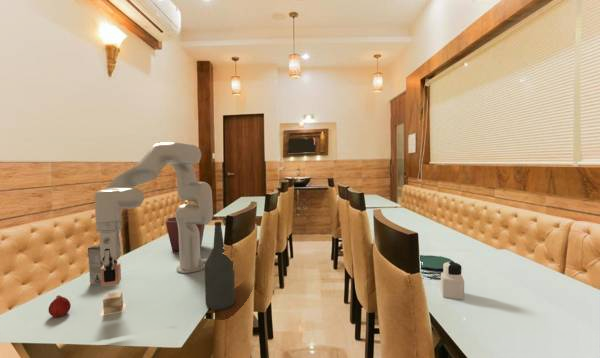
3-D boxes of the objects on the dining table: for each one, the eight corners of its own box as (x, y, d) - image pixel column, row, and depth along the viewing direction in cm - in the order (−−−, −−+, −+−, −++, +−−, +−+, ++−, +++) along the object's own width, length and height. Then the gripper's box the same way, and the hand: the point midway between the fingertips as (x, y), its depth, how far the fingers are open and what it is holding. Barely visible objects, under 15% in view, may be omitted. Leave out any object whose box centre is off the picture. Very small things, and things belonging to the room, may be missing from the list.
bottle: (211, 297, 118) (209, 219, 116) (237, 297, 118) (235, 219, 116) (202, 310, 108) (199, 225, 106) (230, 310, 107) (227, 224, 106)
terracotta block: (121, 279, 110) (120, 262, 110) (118, 284, 105) (118, 266, 105) (104, 281, 108) (103, 264, 108) (101, 286, 104) (100, 268, 103)
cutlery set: (451, 260, 157) (451, 255, 157) (464, 283, 128) (464, 278, 128) (410, 257, 163) (410, 253, 163) (413, 279, 134) (413, 274, 134)
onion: (57, 314, 107) (56, 291, 107) (75, 313, 107) (73, 290, 107) (45, 323, 101) (43, 299, 101) (63, 322, 102) (62, 298, 101)
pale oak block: (122, 305, 111) (122, 291, 111) (120, 311, 106) (120, 296, 106) (106, 307, 109) (105, 293, 109) (103, 314, 104) (102, 299, 104)
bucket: (196, 254, 174) (194, 210, 173) (157, 255, 175) (155, 211, 173) (209, 243, 199) (208, 204, 198) (175, 244, 199) (173, 205, 198)
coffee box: (106, 276, 143) (104, 242, 142) (118, 277, 141) (116, 242, 140) (89, 284, 134) (87, 247, 133) (102, 285, 132) (100, 248, 131)
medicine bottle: (461, 292, 119) (461, 261, 118) (464, 300, 112) (464, 267, 111) (440, 290, 121) (440, 259, 120) (442, 297, 114) (442, 265, 114)
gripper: (117, 229, 100) (120, 285, 100) (125, 221, 115) (127, 269, 116) (90, 231, 97) (92, 289, 97) (101, 222, 112) (103, 272, 113)
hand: (111, 277), depth 107 cm, fingers closed on terracotta block, 5 cm apart
